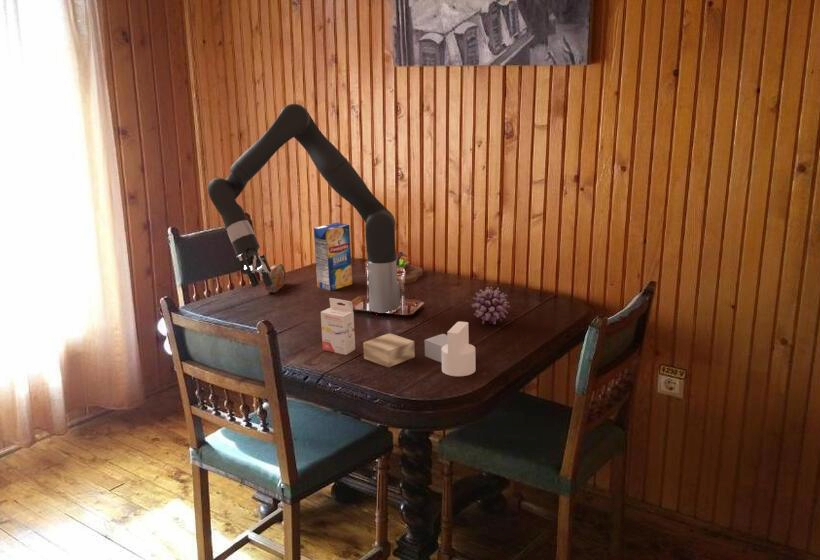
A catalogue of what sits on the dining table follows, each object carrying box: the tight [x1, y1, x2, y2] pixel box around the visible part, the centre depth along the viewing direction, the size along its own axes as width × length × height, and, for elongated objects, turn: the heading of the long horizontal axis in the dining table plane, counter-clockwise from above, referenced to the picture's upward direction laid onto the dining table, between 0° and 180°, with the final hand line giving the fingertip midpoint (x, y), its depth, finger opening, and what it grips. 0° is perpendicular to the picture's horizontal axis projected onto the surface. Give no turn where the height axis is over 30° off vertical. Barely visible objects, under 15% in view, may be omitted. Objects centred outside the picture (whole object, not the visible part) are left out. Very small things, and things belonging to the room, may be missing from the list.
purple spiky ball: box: [471, 286, 511, 325], centre depth 250 cm, size 12×12×12 cm
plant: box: [396, 251, 424, 285], centre depth 304 cm, size 20×20×11 cm
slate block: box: [424, 333, 448, 364], centre depth 226 cm, size 7×7×5 cm
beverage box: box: [313, 222, 353, 292], centre depth 293 cm, size 7×11×22 cm, turn 137°
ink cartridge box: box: [320, 297, 356, 355], centre depth 232 cm, size 9×5×15 cm, turn 59°
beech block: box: [362, 332, 416, 368], centre depth 226 cm, size 10×10×5 cm
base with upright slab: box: [441, 321, 477, 377], centre depth 216 cm, size 9×9×12 cm
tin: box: [264, 263, 286, 293], centre depth 293 cm, size 15×3×8 cm, turn 168°
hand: (263, 286), depth 249 cm, fingers open, 8 cm apart
